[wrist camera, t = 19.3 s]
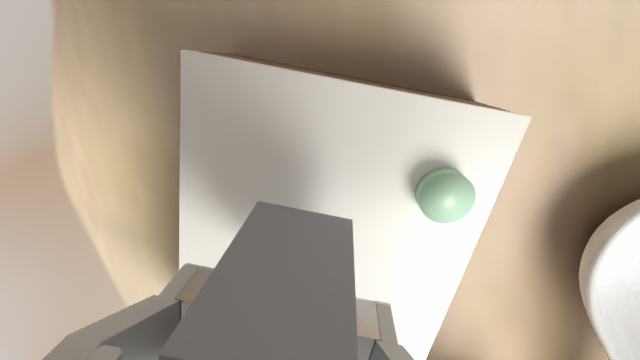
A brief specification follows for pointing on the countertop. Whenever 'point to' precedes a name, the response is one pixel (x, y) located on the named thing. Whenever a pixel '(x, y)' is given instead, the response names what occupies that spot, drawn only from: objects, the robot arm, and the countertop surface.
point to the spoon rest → (614, 283)
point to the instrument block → (276, 293)
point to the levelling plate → (344, 174)
